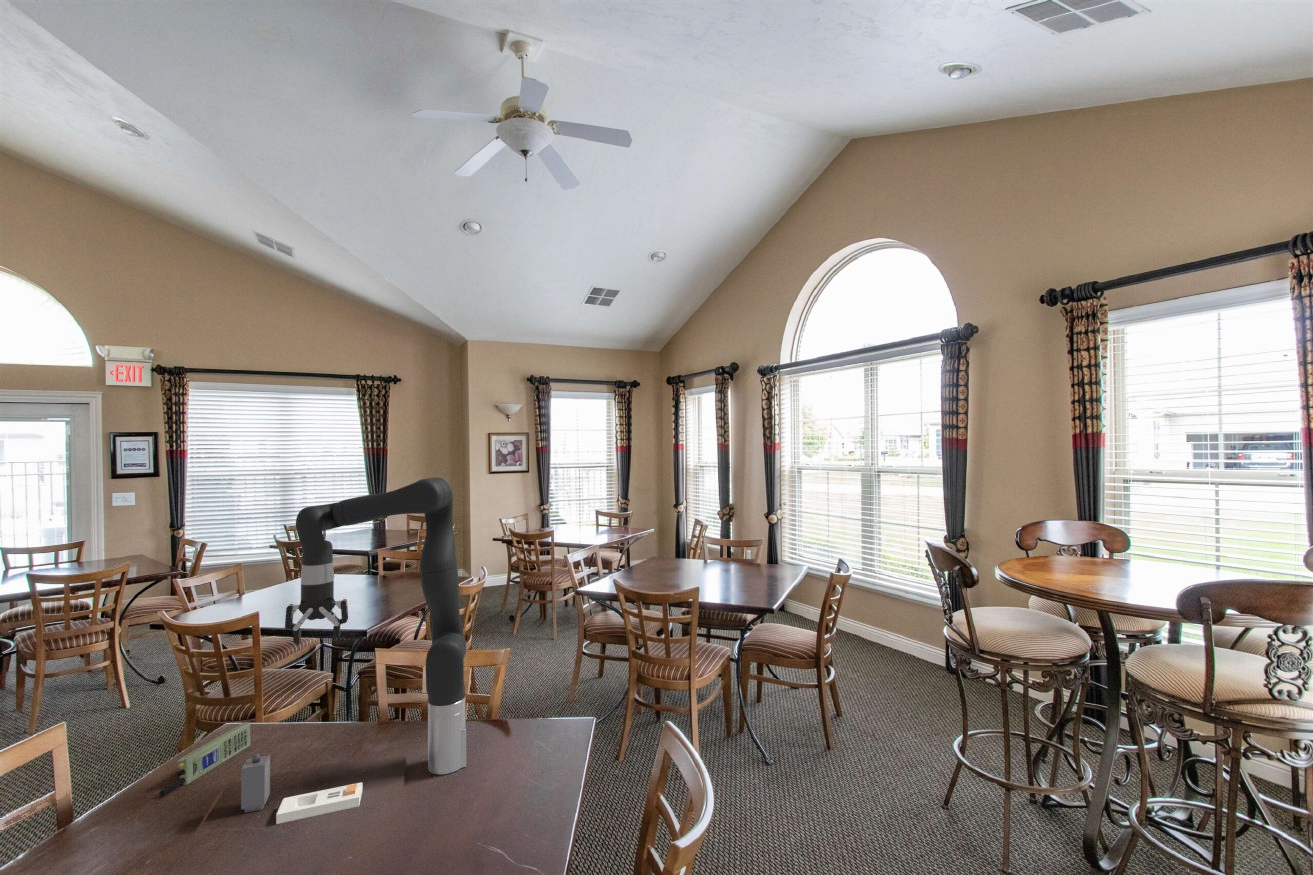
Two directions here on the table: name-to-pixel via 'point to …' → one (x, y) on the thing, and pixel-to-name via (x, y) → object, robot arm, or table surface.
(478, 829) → the table surface
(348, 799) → the power strip
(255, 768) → the charger
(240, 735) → the handheld radio
